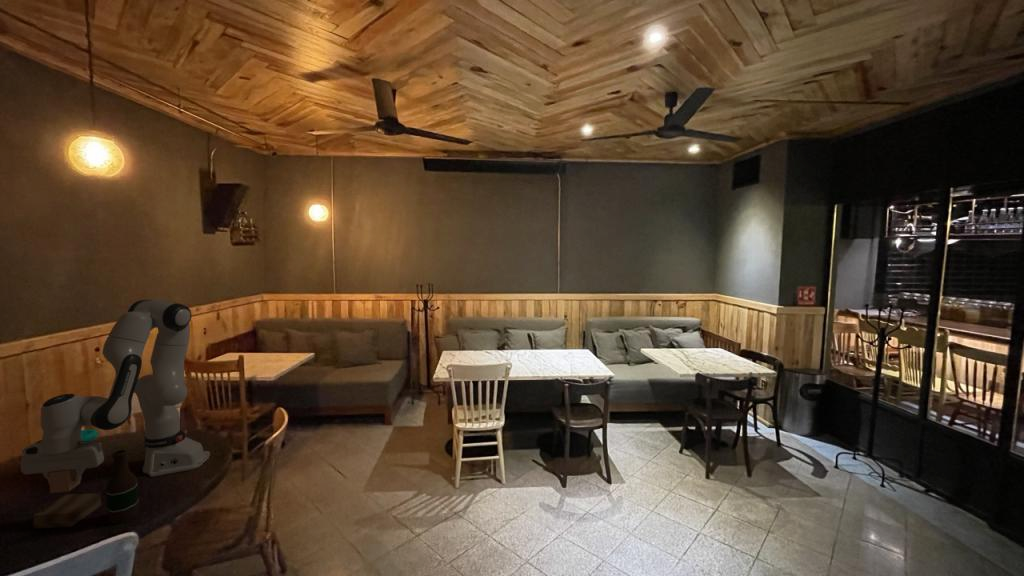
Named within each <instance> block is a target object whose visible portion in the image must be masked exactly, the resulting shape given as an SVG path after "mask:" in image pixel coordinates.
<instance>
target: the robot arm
mask: <svg viewBox="0 0 1024 576" xmlns="http://www.w3.org/2000/svg"><path fill="white" fill-rule="evenodd" d="M191 320H192V312H191V309H190V308H189V307H188V306H186V305H184V304H182V303H175V302H171V301H165V300H152V299H141V300H137V301H136V302H134V303H133V304H131V306H130V307H128V309H127V312H124V313H123V314H122V315H121V316H120V317H119V318H118V320H117V321H116V322H115V324H114V325H113V327H112V328H111V330H110V331H109V334H108V336H107V337H106V340H105V341H104V343H103V348H102V355H103V358H104V359H105V360H106V361H107V362H108V363H110V364H111V365H112V367H113V369H114V371H115V377H114V380H113V383H112V386H111V389H110V392H109V395H108V397H104V396H100V395H91V396H88V395H87V396H85V395H83V396H82V395H77V394H74V393H64V394H59V395H56V396H53V397H51V398H49V399H47V400H46V401H45V402H43V405H42V406H41V410H40V427H41V430H42V432H43V433H42V437H41V439H40V440H37V441H35V442H33V443H31V444H30V445H28V446H26V447H24V448H23V449H22V450H21V454H22V455H23V456H22V457H21V459H20V470H21V473H22V474H24V475H33V474H42V476H43V477H44V478H45V479H46V480H47V482H48V485H50V482H49V473H50V472H55V471H65V470H75V469H76V472H78V473H77V474H76V475H75V476H73V481H79V480H80V481H81V480H82V477H83V475H82V474H83V473H84V472H85V471H86V469H94V468H97V467H98V466H100V465H101V464H102V463H104V461H105V456H104V451H103V445H102V442H100V441H97V440H94V439H93V440H91V441H82V435H81V430H82V428H83V427H86V426H92V427H95V428H97V429H99V430H103V431H109V430H110V431H111V430H114V429H116V428H119V427H120V426H123V424H125V423H126V422H127V421H128V419H130V417H131V415H132V408H133V407H132V401H133V396H134V394H135V395H136V397H137V400H138V402H139V403H138V404H139V407H140V409H141V414H142V415H143V416H142V417H143V420H144V421H143V422H144V432H145V434H144V435H145V436H144V439H143V440H144V442H143V443H144V449H145V457H144V463H143V467H142V472H143V473H144V474H147V475H148V476H149V477H151V478H153V477H158V476H163V475H169V474H173V473H174V474H175V473H179V472H185V471H191V470H195V469H198V468H199V467H201V466H202V465H204V464H205V463H206V462H207V461H208V460H207V459H210V457H209V456H211V452H210V451H209V450H204V448H203V444H202V443H201V442H199V441H196V440H194V439H191V438H189V437H187V436H186V434H187V432H188V429H186V430H185V431H183V430H182V428H181V426H180V425H181V424H180V412H179V409H178V408H177V405H179V404H180V403H182V402H183V401H184V400H185V399H186V397H187V395H188V394H189V392H188V391H189V390H188V387H187V385H186V381H185V379H186V378H185V360H186V355H187V351H188V348H189V347H188V346H189V342H190V336H191V335H190V334H191V333H190V332H191V325H190V322H191ZM155 328H157V330H158V331H157V334H156V337H155V341H154V344H153V348H152V352H151V356H150V359H149V360H150V361H149V362H150V365H151V369H152V370H151V371H152V373H151V374H145V375H143V376H140V373H141V370H142V365H143V361H142V356H143V352H144V350H145V346H146V345H147V342H148V339H149V337H150V333H151V332H152V330H154V329H155ZM205 461H206V462H205ZM204 462H205V463H204ZM203 463H204V464H203ZM197 467H198V468H197Z"/></svg>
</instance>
